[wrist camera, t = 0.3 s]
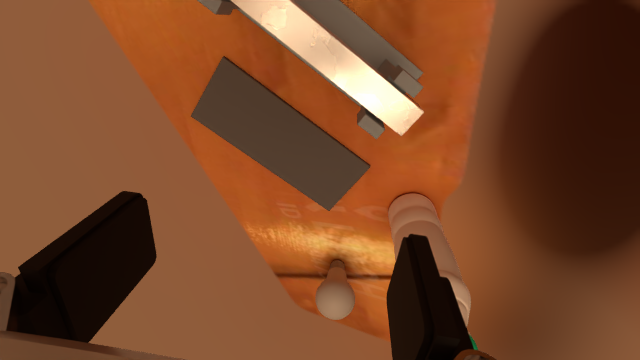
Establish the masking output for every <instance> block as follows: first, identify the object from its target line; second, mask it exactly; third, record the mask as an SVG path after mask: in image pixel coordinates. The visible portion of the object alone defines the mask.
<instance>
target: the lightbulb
mask: <svg viewBox="0 0 640 360" xmlns="http://www.w3.org/2000/svg"><path fill="white" fill-rule="evenodd" d="M316 304H317V308H318V309H319V311H320V312H321V313H322V314H323V315H324V316H325V317H327V318H329V319H333V320H338V319H342V318H344V317H346V316H347V315H348V314H349V313H350V312H351V311H352V309H353V307H354V304H355V294H354V291H353V289H352V287H351V285H350V284H349V283H348V281H347V278H346V272H345V265H344V263H343V262H342V261H339V260H335V261H333V262H332V263H331V265H330V270H329V271H328V275H327V278H326V279H325V280H324V281H323V282H322V283H321V285H320V286H319V287H318V289H317V292H316Z"/></svg>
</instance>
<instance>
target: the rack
mask: <svg viewBox="0 0 640 360" xmlns="http://www.w3.org/2000/svg"><path fill="white" fill-rule="evenodd" d="M198 1H199V2H200V3H202V4H203V5H204V6H205V7H207V8H208V9H209V10H211V11H212V12H213V13H214V14H224V15H230V14H231V12H232V10H233V9H237V10H239V11H240V12H241V13H242V14H244V15H245V16H246V17H248V18H249V19H250V20H251V21H253V22H254V23H255V24H256V25H258V26H259V27H260V28H261V29H263V30H264V31H265V32H266V33H268V34H269V35H270V36H272V37H273V38H274V39H275V40H277V41H278V42H279V43H280V44H282V45H283V46H284V47H285V48H287V49H288V50H289V51H290V52H292V53H293V54H294V55H296V56H297V57H298V58H299V59H301V60H302V61H303V62H304V63H306V64H307V65H308V66H309V67H311V68H312V69H313V70H315V71H316V72H317V73H318V74H320V75H321V76H322V77H323V78H325V79H326V80H327V81H328V82H330V83H331V84H332V85H333V86H335V87H336V88H337V89H339V90H340V91H341V92H342V93H344V94H345V95H346V96H347V97H349V98H350V99H351V100H352V101H354V102H355V103H356V104H357V105H359V106H360V107H361V110H360V111H359V113H358V114H357V124H358V125H359V126H360V127H362V128H363V129H364V130H365V131H367V132H368V133H369V134H371V135H372V136H373V137H374V138H376V139H377V138H378V137H379V136H380V135H381V134H382V133H383V131H384V130H385V128H384V124H383V121H382V120H380V119H379V118H378V117H377V116H375V115H374V114H373V113H372V112H370V111H369V110H368V109H367V108H365V107H364V106H363V105H362V104H360V103H359V102H358V101H357V100H355V99H354V98H353V97H351V96H350V95H349V94H348V93H346V92H345V91H344V90H343V89H341V88H340V87H339V86H338V85H336V84H335V83H334V82H333V81H331V80H330V79H329V78H328V77H326V76H325V75H324V74H323V73H321V72H320V71H319V70H317V69H316V68H315V67H314V66H312V65H311V64H310V63H309V62H307V61H306V60H305V59H304V58H302V57H301V56H300V55H299V54H297V53H296V52H295V51H294V50H292V49H291V48H290V47H288V46H287V45H286V44H285V43H283V42H282V41H281V40H280V39H278V38H277V37H276V36H275V35H273V34H272V33H271V32H270V31H268V30H267V29H266V28H265V27H263V26H262V25H261V24H260V23H258V22H257V21H256V20H254V19H253V18H252V17H251V16H249V15H248V14H247V13H246V12H244V11H243V10H242V9H241V8H239V7H238V6H237V5H236V4H234V3H233V2H232V1H231V0H198ZM294 1H295V2H296V3H297V4H299V5H300V6H301V7H302V8H303V9H305V10H306V11H307V12H308V13H309V14H311V15H312V16H313V17H314V18H315V19H317V20H318V21H319V22H320V23H321V24H323V25H324V26H325V27H326V28H327V29H329V30H330V31H331V32H332V33H333V34H335V35H336V36H337V37H338V38H339V39H341V40H342V41H343V42H344V43H345V44H347V45H348V46H349V47H350V48H351V49H353V50H354V51H355V52H356V53H357V54H359V55H360V56H361V57H362V58H363V59H365V60H366V61H367V62H368V63H369V64H371V65H372V66H373V67H374V68H375V69H377V70H378V71H379V72H380V73H381V74H383V75H384V76H385V77H386V78H387V79H389V80H390V81H391V82H392V83H393V84H395V85H396V86H397V87H398V88H399V89H401V90H402V91H403V92H404V93H406V92H407V93H408V94H409V95H411V96H412V97H413V98H414V97H415V96H416V95H417V94H418V93H419V92H420V90H421V89H422V88H423V86H422V85H421V84H420V83H419V82H418V81H417V79H418V78H419V77H420V76H421V75H422V74H423V72H422V71H420V70H419V69H418V68H417V67H416V66H415V65H414V64H412V63H411V62H410V61H409V60H408V59H407V58H405V57H404V56H403V55H402V54H401V53H400V52H399V51H397V50H396V49H395V48H394V47H393V46H392V45H390V44H389V43H388V42H387V41H386V40H385V39H383V38H382V37H381V36H380V35H379V34H378V33H377V32H375V31H374V30H373V29H372V28H371V27H370V26H368V25H367V24H366V23H365V22H364V21H363V20H361V19H360V18H359V17H358V16H357V15H356V14H355V13H353V12H352V11H351V10H350V9H349V8H348V7H346V6H345V5H344V4H343V3H342V2H341V1H340V0H294Z"/></svg>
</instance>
